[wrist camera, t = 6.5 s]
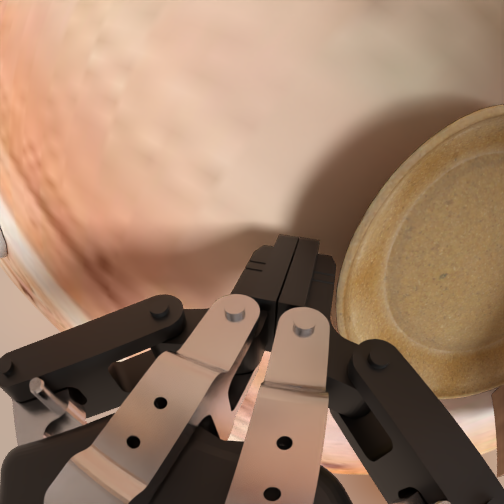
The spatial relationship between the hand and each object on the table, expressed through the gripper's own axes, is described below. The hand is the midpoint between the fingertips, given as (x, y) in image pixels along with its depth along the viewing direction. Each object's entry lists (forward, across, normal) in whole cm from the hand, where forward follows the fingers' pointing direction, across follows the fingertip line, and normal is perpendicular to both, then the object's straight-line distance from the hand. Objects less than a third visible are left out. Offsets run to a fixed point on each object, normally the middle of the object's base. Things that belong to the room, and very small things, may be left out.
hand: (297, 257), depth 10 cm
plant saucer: (+1, -9, 0) cm, 9 cm away
